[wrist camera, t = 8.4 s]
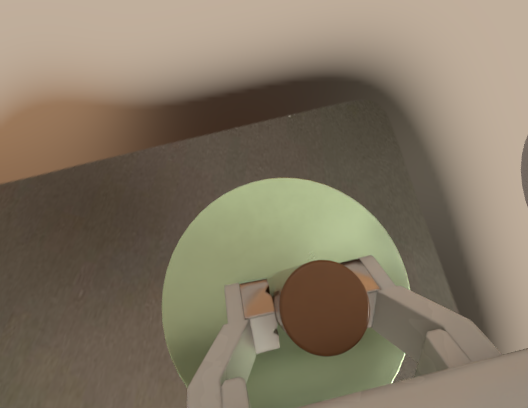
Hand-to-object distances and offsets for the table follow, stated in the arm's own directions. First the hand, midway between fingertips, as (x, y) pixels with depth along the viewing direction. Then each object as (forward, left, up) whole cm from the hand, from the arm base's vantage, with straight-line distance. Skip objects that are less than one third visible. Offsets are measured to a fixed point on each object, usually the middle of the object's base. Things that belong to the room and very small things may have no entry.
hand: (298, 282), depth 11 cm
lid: (0, +1, -4) cm, 4 cm away
